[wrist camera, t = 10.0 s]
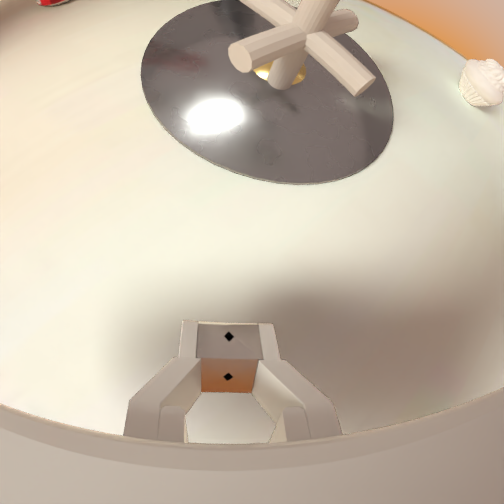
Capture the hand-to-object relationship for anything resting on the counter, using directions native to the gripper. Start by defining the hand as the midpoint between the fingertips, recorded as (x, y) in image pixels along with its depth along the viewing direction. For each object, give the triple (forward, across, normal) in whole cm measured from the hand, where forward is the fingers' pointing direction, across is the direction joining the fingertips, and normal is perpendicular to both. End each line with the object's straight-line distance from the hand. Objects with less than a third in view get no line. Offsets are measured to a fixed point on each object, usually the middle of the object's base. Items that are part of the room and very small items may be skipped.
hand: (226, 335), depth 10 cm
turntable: (+17, -3, -10) cm, 20 cm away
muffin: (+22, -27, -14) cm, 38 cm away
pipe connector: (+15, -3, -8) cm, 18 cm away
